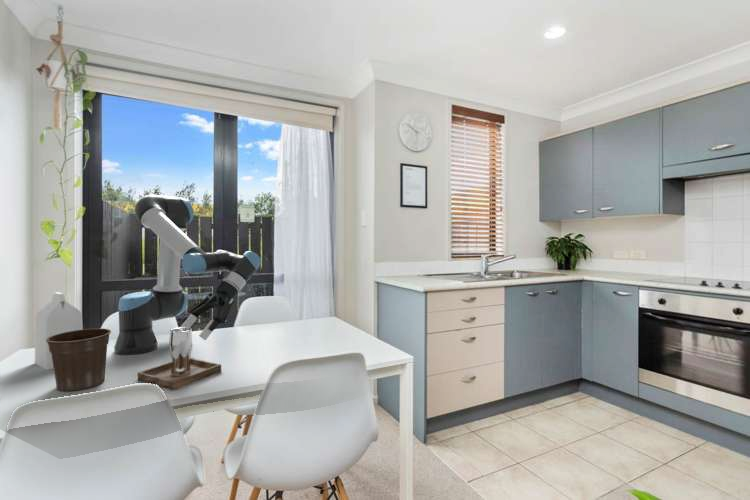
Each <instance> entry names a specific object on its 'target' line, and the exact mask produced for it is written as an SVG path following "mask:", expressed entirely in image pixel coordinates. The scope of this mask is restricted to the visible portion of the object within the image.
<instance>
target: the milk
mask: <svg viewBox="0 0 750 500" xmlns="http://www.w3.org/2000/svg"><path fill="white" fill-rule="evenodd" d="M82 314H83V313H82V312H81V311H80V310H79V309H78V308H77V307H75V306H74V305H72V304H70V303H69V302H67V301H66V298H65V293H64V292H58V291H57V292H56V291H55V292H53V294H52V299H51V300H50V301H48V302H47V303H46V304H45V305H44V306H42V308H40V309H39V310H38V311H37V313H36V314H35V335H34V336H35V338H34V339H35V340H34V343H35V344H34V345H35V346H34V364H35V365H37V366H39V367H41V368H42V369H45V370H46V371H48V370H52V369H54V367H53V361H52V355H51V353H50V351H49V345H48V342H46V339H47V338H48V337H50V336H53V335H56V334H60V333H64V332H69V331H75V330H83V329H84V326H83V315H82Z"/></svg>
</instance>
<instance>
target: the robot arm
mask: <svg viewBox="0 0 750 500" xmlns="http://www.w3.org/2000/svg"><path fill="white" fill-rule="evenodd" d="M134 214H135V217H136V219H137V221H138V222H139V223H140V224H141V225H142V226H143V228H146V229H150V230H151V231H152V232H153V233H154V234H155V235H156V236H157V237H158V238H159V251H158V266H157V280H156V281H157V283H156V285H154V286H153V287H152V292H151V291H143V290H142V291H135V292H131V293H127V294H125V295H123V296H121V297H120V298H119V300H118V307H117V309H118V335H117V338H116V341H115V344H114V347H113V348H114V349H113V350H114V351H113V352H114V354H116V355H121V356H131V355H137V354H138V355H139V354H143V353H149V352H151V351H155V350H156V349H157V348H158V340H157V337H156V335H155V332H154V330H153V329H154V328H153V322H155V321H159V320H164V319H165V320H166V319H171V318H174V317H177V316H178V317H179V316H180V315H182V314H183V313H184V312H185V311H186V309H187V307H188V301H189V300H188V296H187V293H186V292H185V291H184V290H183V286H181V285H180V276H181V275H180V273H181V267H182V269H183V271H184V273H186V274H189V275H200V274H201V275H202V274H208V273H209V274H210V273H218V272H228V273H227V274H226V275H225V276H224V278H223V279H222V281H220V282H219V284H218V285H217V286H216V288H215V291H216V292H215V293H214V294H213V293H212V292H210V293H208V294H207V295H206V296H205V297H204V298H203V299H202V300H201V301H199V302H198V303H197V304H195V305H194V306H193V307H191V309H189V313H190V315H189V316H188V317H187V319H186V320H185V321H184V322H183V323H182V325H180V327H179V328H181V327H189V328H192V326H193V325H194V323H196V321H197V320H198V319H199V317H200V316H201V315H203V314H204V313H205V312H208V311H209V310H211V309H215V312H214V316H213V317H212V319H211V320H209V322H208V324H207V325H206V326H205V327H204V329H203V330H202V331H201V332H200V334H199V335H198V336H199V338H201V339H202V340H203V341H206V340H207V339H208V338H209V337H210V335H211V334H212V333H213V332H214V331H215V329H216V328H217V327H218V326H219V325H221V324H225V323H226V321H227V320H228V319H227V318H228V316H229V314H230V311H231V309H232V307H233V304H234V303H235V298H236V297H237V295H239V292H240V291H242V289H243V288H244V286H245V285H246V284H247V283H248V281H249V280H250V279H251V277H252V276H253V275H254V274H255V273H256V271H257V270H258V269H259V267H260V265H261V264H262V259H261V257H260V256H259V255H258V254H257V253H255V252H254V251H251V250H248V251H245V252H244V253H243V255H242V254H238V253H235V252H231V251H228V250H223V249H217V250H216V251H214V252H205V251H204V250H203V249H202V248H201V247H199V245H197V244H196V243H195V242H194V241H193V240H192V238H190V237H189V236H188V235H187V234H186V233H185V231H186V230H187V227H188V225H189V224H190V223H192V221H193V219H194V214H195V213H194V208H193V205H192V204H191V202H190V200H188V199H186V198H183V197H178V196H168V195H158V194H149V195H144V196H143V197H141V198H139V200H138V201H137V202H136V204H135V207H134Z"/></svg>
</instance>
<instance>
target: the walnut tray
mask: <svg viewBox="0 0 750 500" xmlns="http://www.w3.org/2000/svg"><path fill="white" fill-rule="evenodd" d="M190 368H191V372H190V373H189V374H187V375H184V376H172V375H171V370H172V361H169V362H168V363H167V362H166V363H163V364H161V365H158V366H154V367H151V368H148V369H144V370H142V371H139V372H137V381H139V382H142V383H145V382H147V383H146V384H149V383H153V384H157V385H159V386H158V387H159V388H164V389H167V390H170V391H176V390H180V389H181V388H184V387H187V386H189V385H192V384H194V383H196V382H199V381H201V380H204V379H207V378H209V377H211V376H213V375H217V374H219V373H221V372H222V364H221V363H217V362H216V363H215V362H211V361H206V360H201V359H197V358H193V357H190ZM153 384H152V385H153Z"/></svg>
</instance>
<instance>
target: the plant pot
mask: <svg viewBox="0 0 750 500" xmlns="http://www.w3.org/2000/svg"><path fill="white" fill-rule="evenodd" d="M111 333H112V330H111V329H109V328H83V330H75V331H69V332H64V333H60V334H56V335H53V336H50V337H48V338H47V339H46V342H48V345H49V351H50V353H51V355H52V361H53V367H54V368H53V372H54V378H55V384H56V389H57V390H58V391H60V392H69V391H70V390H73V391H81V390H84V389H85V390H86V389H89V388H93V387H96V386H97V385H100V384H101V383H102V382H104V381H105V379H106V365H107V354H108V353H107V351H108V345H109V339H110V334H111Z"/></svg>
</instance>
